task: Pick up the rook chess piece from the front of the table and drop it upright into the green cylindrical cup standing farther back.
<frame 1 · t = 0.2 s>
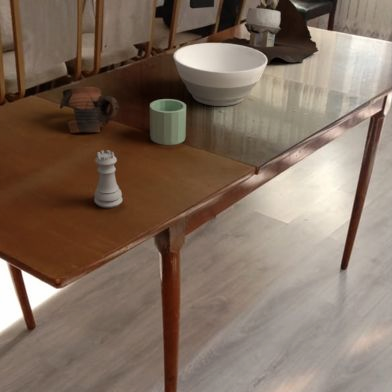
rook chess piece: (108, 203, 99), on the table
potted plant: (272, 52, 160), on the table
pottery mug: (90, 126, 121), on the table
bowl: (218, 98, 135), on the table
green cylindrical cup: (167, 137, 118), on the table
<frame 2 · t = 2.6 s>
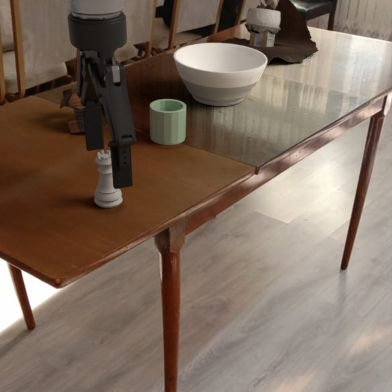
hand: (108, 167, 95), 6 cm above the table, tool pointing down, fingers open, 13 cm apart
nothing on the table moved.
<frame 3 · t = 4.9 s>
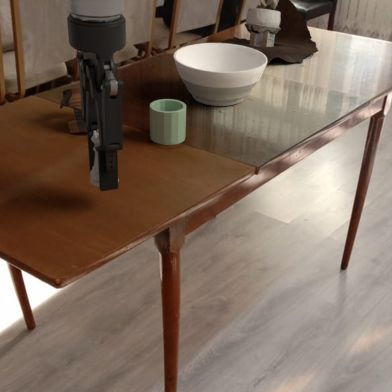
hand: (104, 181, 96), 4 cm above the table, tool pointing down, fingers closed on rook chess piece, 4 cm apart
rook chess piece: (104, 184, 96), point 3 cm above the table, touching gripper
everything else where it was.
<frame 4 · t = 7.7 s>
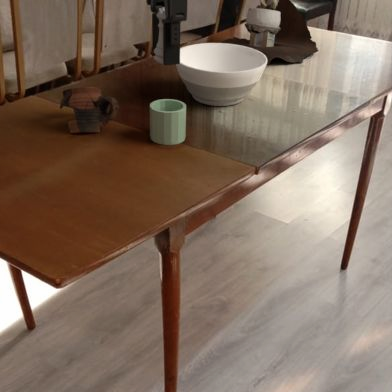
hand: (166, 58, 107), 14 cm above the table, tool pointing down, fingers closed on rook chess piece, 4 cm apart
rook chess piece: (166, 61, 108), point 14 cm above the table, touching gripper
everything else where it was.
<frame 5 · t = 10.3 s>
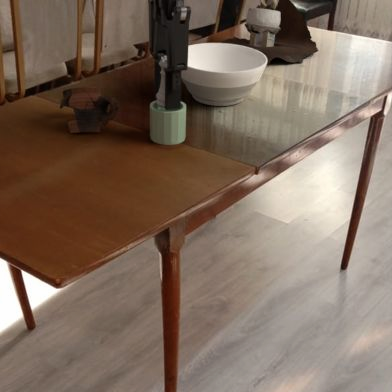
hand: (167, 102, 113), 7 cm above the table, tool pointing down, fingers closed on rook chess piece, 4 cm apart
rook chess piece: (167, 105, 114), point 6 cm above the table, touching gripper
everything else where it was.
when the fingers open (7 cm above the table, at t = 14.0 s): rook chess piece drops 6 cm, resting on green cylindrical cup.
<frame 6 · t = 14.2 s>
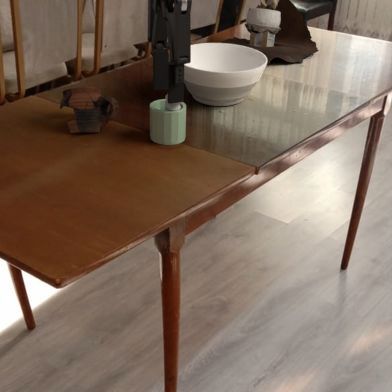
hand: (168, 94, 113), 8 cm above the table, tool pointing down, fingers open, 6 cm apart
rook chess piece: (168, 134, 117), point 1 cm above the table, touching gripper, green cylindrical cup
everything else where it was.
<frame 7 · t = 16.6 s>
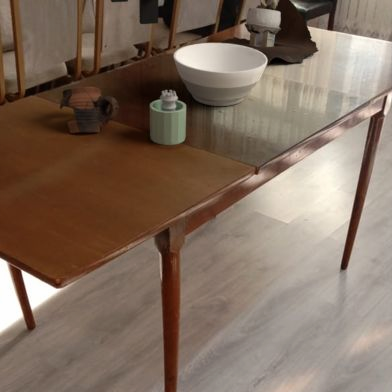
hand: (133, 12, 98), 23 cm above the table, tool pointing down, fingers open, 13 cm apart
rook chess piece: (168, 136, 118), resting on green cylindrical cup
everything else where it was.
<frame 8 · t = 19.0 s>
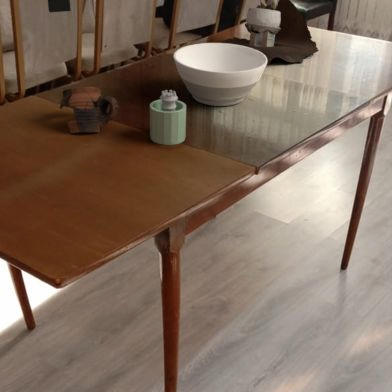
nothing on the table moved.
at the end: rook chess piece 0.1 cm off-centre in the green cylindrical cup, point 0.2 cm above the green cylindrical cup's base; rook chess piece tilted 0°; the gripper is holding nothing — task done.
